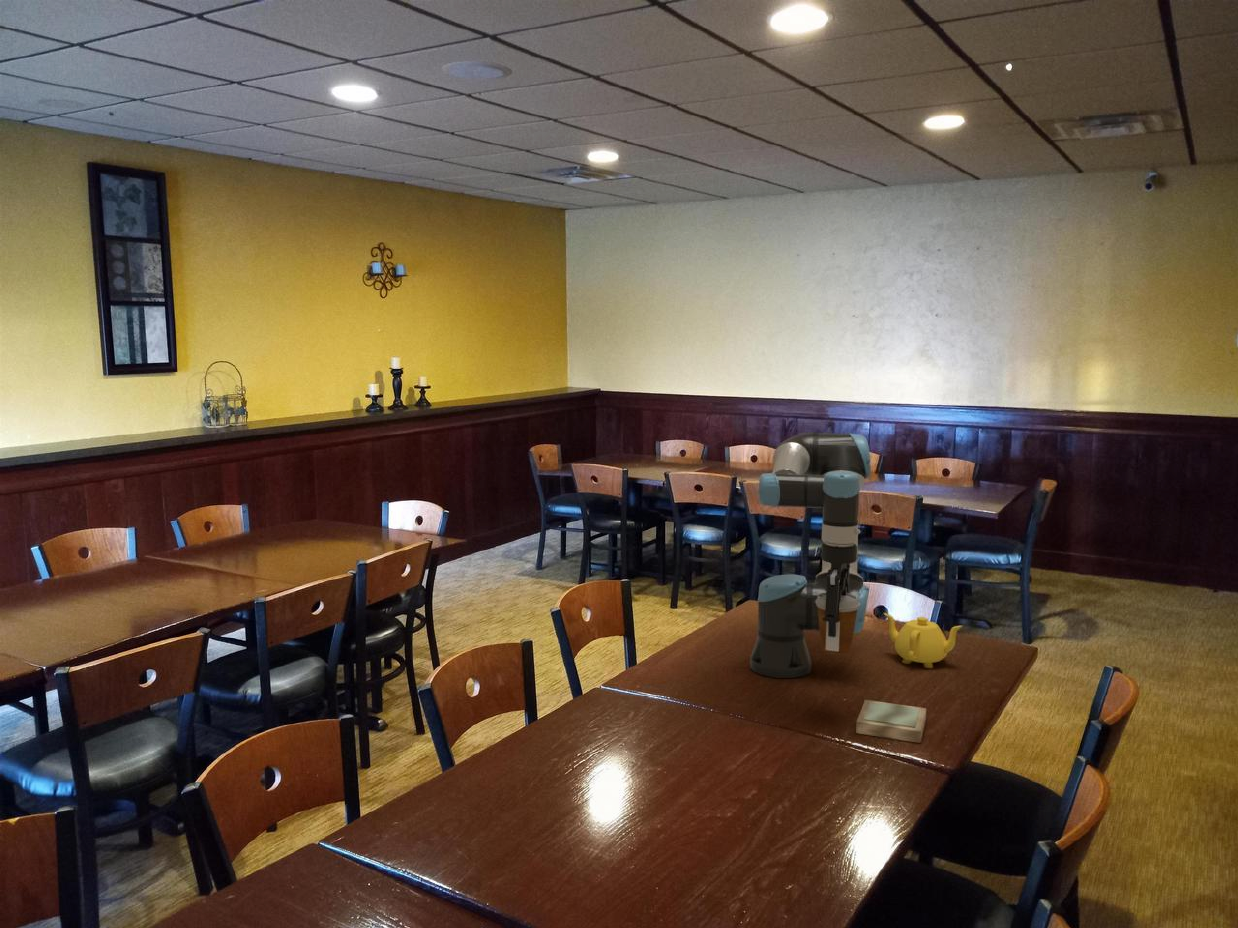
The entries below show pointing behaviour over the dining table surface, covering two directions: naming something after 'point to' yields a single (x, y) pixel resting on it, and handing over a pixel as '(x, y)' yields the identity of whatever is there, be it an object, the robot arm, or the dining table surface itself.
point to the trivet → (891, 721)
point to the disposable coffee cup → (846, 619)
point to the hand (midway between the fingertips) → (836, 644)
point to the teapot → (921, 641)
